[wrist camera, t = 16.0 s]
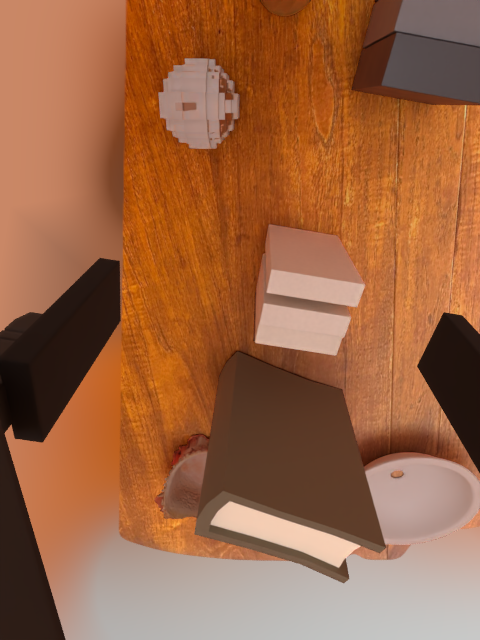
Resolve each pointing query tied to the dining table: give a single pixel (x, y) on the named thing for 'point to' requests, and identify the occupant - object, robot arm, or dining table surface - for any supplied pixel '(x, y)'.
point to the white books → (297, 320)
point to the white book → (310, 267)
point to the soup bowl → (421, 497)
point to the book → (285, 470)
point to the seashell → (185, 480)
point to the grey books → (422, 52)
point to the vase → (285, 6)
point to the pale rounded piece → (199, 103)
